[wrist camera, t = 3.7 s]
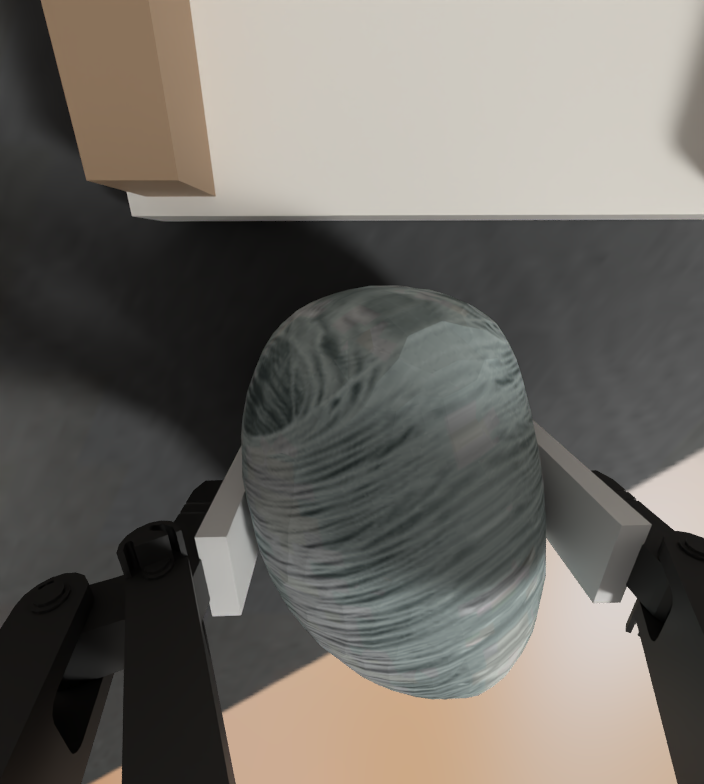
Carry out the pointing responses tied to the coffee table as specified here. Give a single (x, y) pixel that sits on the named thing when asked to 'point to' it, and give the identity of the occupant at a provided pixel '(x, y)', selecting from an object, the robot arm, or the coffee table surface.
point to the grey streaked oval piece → (399, 487)
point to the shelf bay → (388, 107)
